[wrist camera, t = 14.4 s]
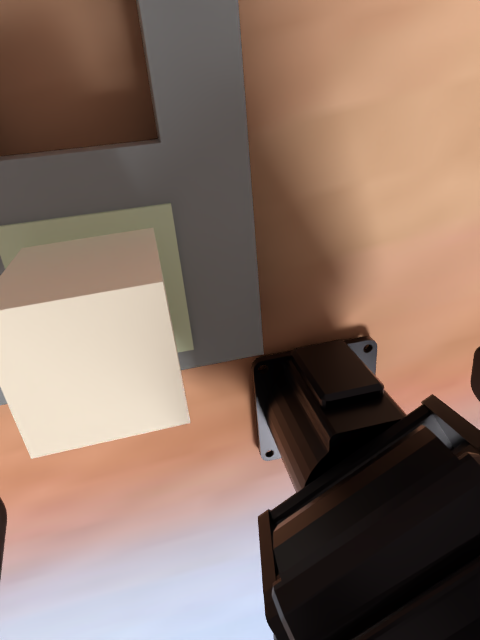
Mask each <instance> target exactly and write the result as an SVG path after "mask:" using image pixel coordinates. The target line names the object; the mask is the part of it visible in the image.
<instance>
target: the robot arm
mask: <svg viewBox="0 0 480 640" xmlns="http://www.w3.org/2000/svg"><path fill="white" fill-rule="evenodd" d="M368 344H369V346H368V347H367V348H366V349H364V347H365V346H366V345H368ZM376 357H377V343H376V342H375V341H374V340H373V339H372V338H371V337H368V336H364V337H359V338H354V339H349V340H344V341H342V340H336V341H331V342H326V343H320V344H315V345H310V346H305V347H300V348H296V349H294V350H292V351H287V352H282V353H277V354H272V355H267V356H261V357H258V358H256V359H255V360H254V361H253V363H252V378H253V389H254V400H255V412H256V423H257V434H258V445H259V452H260V455H261V458H262V459H263V460H266V461H270V460H274V459H279V458H282V460H283V462H284V465H285V467H286V469H287V472H288V474H289V476H290V479H291V481H292V484H293V486H294V488H295V491H296V493H295V494H294V495H292V496H291V497H290V498H288V499H287V500H285V501H284V502H282V503H281V504H280V505H278V506H277V507H275V508H274V509H272V510H269V509H268V510H267V511H265V512H264V513H262V514H261V515H260V516H258V526H259V540H260V554H261V567H262V581H263V594H264V604H265V616H266V620H267V623H268V625H269V627H270V628H271V630H272V632H273V633H274V640H480V430H478V429H477V428H476V427H475V426H473V425H472V424H471V423H469V422H468V421H467V420H465V419H464V418H463V417H462V416H460V415H459V414H458V413H456V412H455V411H454V410H452V409H451V408H450V407H449V406H447V405H446V404H445V403H443V402H442V401H441V400H439V399H438V398H437V397H436V396H434V395H433V394H432V395H431V396H429V397H428V398H426V399H425V400H423V401H422V402H421V403H422V405H421V406H419V407H418V408H417V409H415V410H414V411H412V412H411V413H409V414H408V415H406V414H405V412H404V411H403V410H402V409H401V408H400V407H399V406H398V405H397V403H396V402H395V401H394V400H393V399H392V398H391V397H390V396H389V394H388V393H387V392H386V391H385V390H384V385H383V384H382V383H381V381H380V380H379V379H378V378H377V377H376V376H375V372H376ZM262 365H266V367H265V368H264V369H262V370H259V367H260V366H262ZM471 387H472V390H473V392H474V394H475V396H476V397H477V399H478V400H479V401H480V347H478V348H477V349H476V351H475V353H474V359H473V367H472V375H471ZM269 450H271V451H269ZM267 451H269V452H267ZM6 524H7V512H6V508H5V505H4V503H3V501H2V499H1V498H0V579H1V570H2V561H3V552H4V543H5V534H6Z"/></svg>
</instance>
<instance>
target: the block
mask: <svg viewBox="0 0 480 640" xmlns="http://www.w3.org/2000/svg"><path fill="white" fill-rule="evenodd" d="M0 387H1V390H2V392H3V394H4V397H5V399H6V401H7V404H8V406H9V408H10V411H11V413H12V415H13V417H14V420H15V422H16V424H17V427H18V429H19V431H20V434H21V436H22V438H23V441H24V443H25V445H26V448H27V450H28V452H29V454H30V457H31V459H32V458H37V457H41V456H45V455H50V454H54V453H59V452H63V451H68V450H72V449H77V448H81V447H85V446H90V445H94V444H99V443H103V442H108V441H112V440H117V439H121V438H126V437H130V436H134V435H139V434H143V433H148V432H152V431H157V430H161V429H166V428H170V427H174V426H179V425H183V424H188V423H191V422H190V417H189V412H188V406H187V401H186V395H185V390H184V384H183V379H182V374H181V368H180V363H179V357H178V352H177V346H176V341H175V336H174V330H173V325H172V320H171V315H170V310H169V305H168V300H167V295H166V290H165V284H164V279H163V274H162V269H161V264H160V259H159V254H158V249H157V244H156V238H155V233H154V228H146V229H140V230H134V231H127V232H121V233H114V234H108V235H102V236H95V237H89V238H82V239H76V240H70V241H63V242H57V243H50V244H44V245H38V246H31V247H25V248H21V250H20V251H19V252H18V254H17V255H16V256H15V257H14V259H13V260H12V261H11V263H10V264H9V265H8V266H7V268H6V269H5V270H4V272H3V273H2V274H1V275H0Z"/></svg>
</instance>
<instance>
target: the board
mask: <svg viewBox="0 0 480 640" xmlns="http://www.w3.org/2000/svg"><path fill="white" fill-rule="evenodd" d="M136 4H137V10H138V17H139V23H140V29H141V35H142V42H143V48H144V54H145V60H146V67H147V73H148V79H149V85H150V92H151V98H152V104H153V110H154V117H155V123H156V129H157V135H158V139H153V140H144V141H135V142H126V143H117V144H108V145H99V146H90V147H81V148H72V149H63V150H54V151H45V152H36V153H27V154H18V155H8V156H0V275H1V274H2V273H3V272H4V270H5V269H6V268H7V266H8V265H9V264H10V263H11V261H12V260H13V259H14V257H15V256H16V255H17V254H18V252H19V251H20V250H21V248H25V247H31V246H38V245H44V244H50V243H57V242H63V241H70V240H76V239H82V238H89V237H95V236H102V235H108V234H114V233H121V232H127V231H134V230H140V229H146V228H154V233H155V238H156V244H157V249H158V254H159V259H160V264H161V269H162V274H163V279H164V284H165V290H166V295H167V300H168V305H169V310H170V315H171V320H172V325H173V330H174V336H175V341H176V346H177V352H178V357H179V363H180V368H181V370H185V369H190V368H195V367H200V366H205V365H211V364H216V363H221V362H226V361H231V360H236V359H242V358H247V357H252V356H257V355H262V354H264V349H263V336H262V322H261V308H260V294H259V281H258V267H257V253H256V239H255V225H254V212H253V198H252V184H251V170H250V157H249V143H248V129H247V115H246V102H245V88H244V74H243V60H242V46H241V33H240V19H239V5H238V0H136ZM4 404H7V401H6V399H5V397H4V394H3V392H2V390H1V387H0V405H4Z"/></svg>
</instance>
